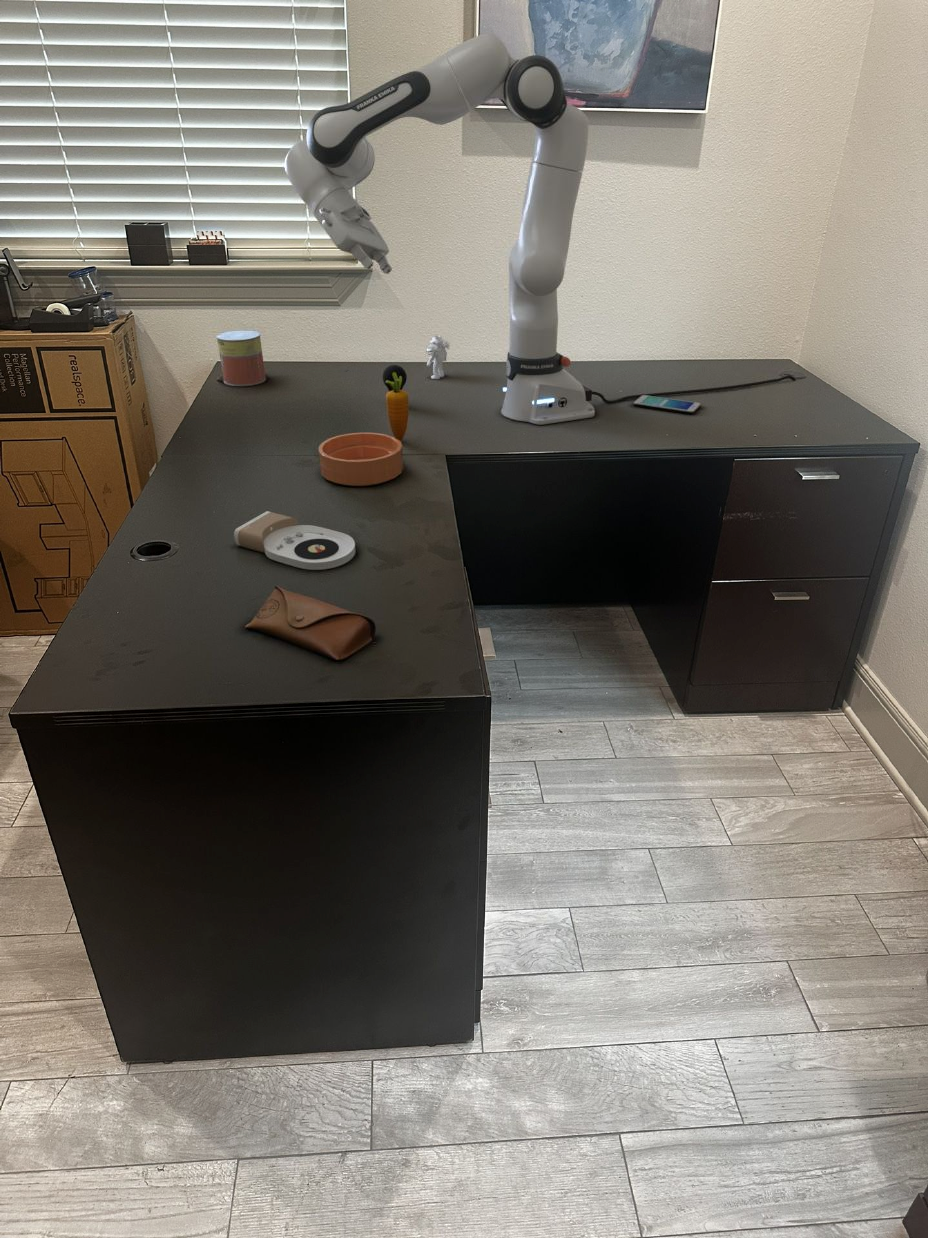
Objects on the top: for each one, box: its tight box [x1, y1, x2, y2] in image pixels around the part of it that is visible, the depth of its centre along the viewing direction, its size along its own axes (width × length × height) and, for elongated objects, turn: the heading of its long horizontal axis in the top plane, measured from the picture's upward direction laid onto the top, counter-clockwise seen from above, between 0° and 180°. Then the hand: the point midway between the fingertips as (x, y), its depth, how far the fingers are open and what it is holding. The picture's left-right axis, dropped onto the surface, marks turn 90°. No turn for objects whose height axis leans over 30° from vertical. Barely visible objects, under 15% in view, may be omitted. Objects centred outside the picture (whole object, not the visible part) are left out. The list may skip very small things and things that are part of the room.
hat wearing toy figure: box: [425, 334, 451, 380], centre depth 226 cm, size 9×4×12 cm, turn 148°
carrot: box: [385, 373, 409, 442], centre depth 181 cm, size 5×5×15 cm
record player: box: [233, 510, 356, 571], centre depth 140 cm, size 12×3×20 cm
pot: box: [318, 432, 404, 487], centre depth 168 cm, size 17×17×6 cm
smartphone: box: [633, 395, 702, 415], centre depth 205 cm, size 8×1×15 cm
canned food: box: [216, 329, 267, 387], centre depth 224 cm, size 11×11×12 cm
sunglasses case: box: [244, 585, 377, 661], centre depth 118 cm, size 18×7×7 cm
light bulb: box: [382, 364, 408, 392], centre depth 204 cm, size 6×6×10 cm
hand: (379, 269), depth 175 cm, fingers open, 8 cm apart
